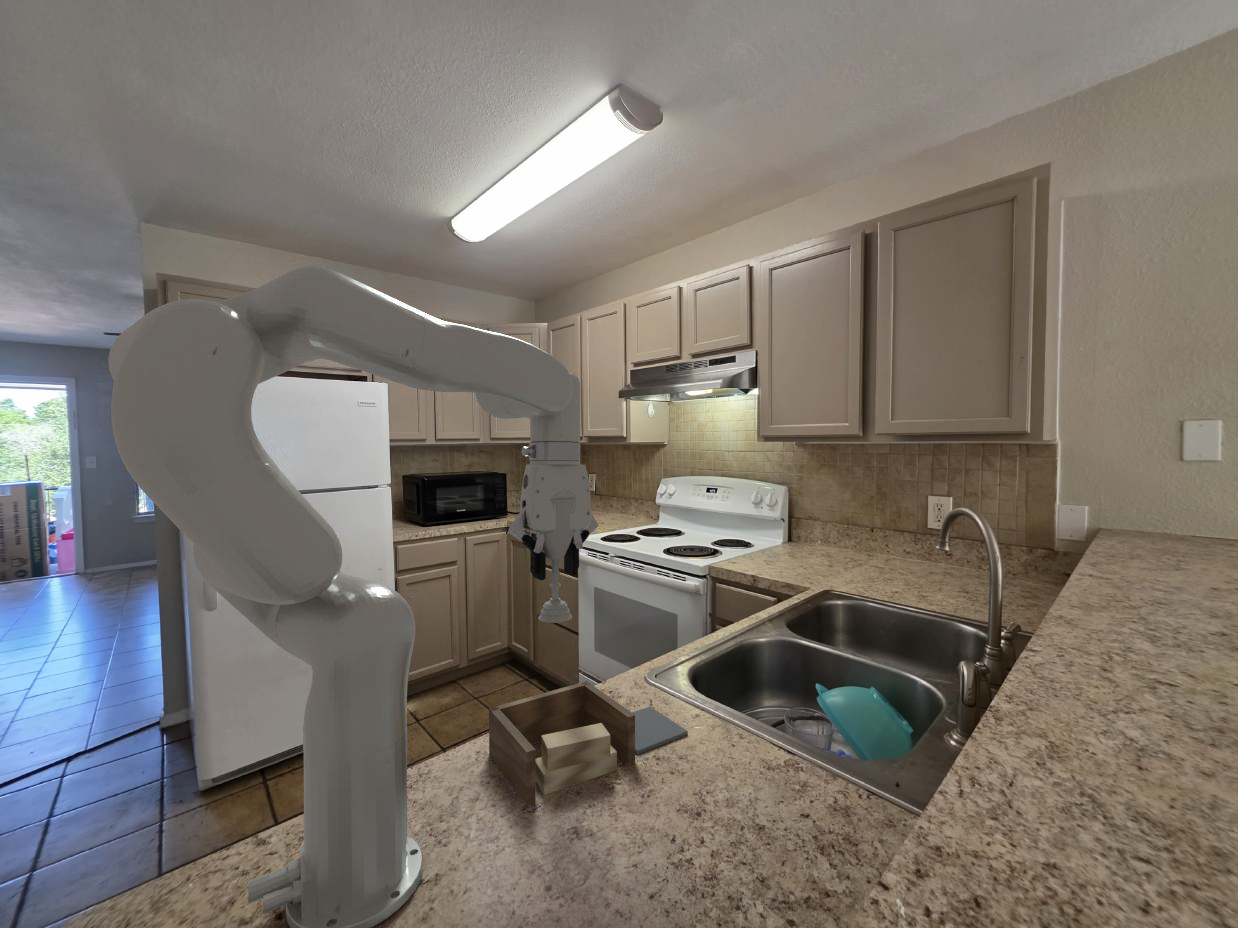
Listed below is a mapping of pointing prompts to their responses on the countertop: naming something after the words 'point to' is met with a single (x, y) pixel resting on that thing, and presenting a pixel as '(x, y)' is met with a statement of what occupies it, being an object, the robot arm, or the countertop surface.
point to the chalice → (556, 550)
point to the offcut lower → (573, 772)
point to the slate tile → (654, 729)
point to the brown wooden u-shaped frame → (553, 729)
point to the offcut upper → (575, 746)
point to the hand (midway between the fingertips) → (555, 574)
